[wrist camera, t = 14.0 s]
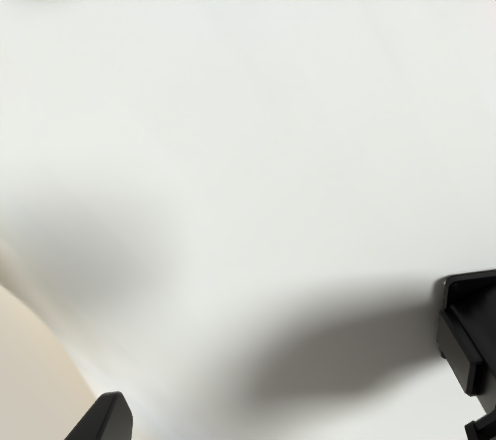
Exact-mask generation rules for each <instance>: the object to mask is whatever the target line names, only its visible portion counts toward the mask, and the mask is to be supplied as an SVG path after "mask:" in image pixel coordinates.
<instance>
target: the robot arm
mask: <svg viewBox="0 0 496 440" xmlns="http://www.w3.org/2000/svg"><path fill="white" fill-rule="evenodd" d="M456 284H457V285H456ZM454 285H456V286H454ZM437 342H438V344H439V353H440V355H441V357H442V358H444V359H447V361H448V363H449V365H450V366H451V368H452V370H453V372H454V374H455V376H456V378H457V379H458V381H459V383H460V385H461V387H462V389H463V390H464V392H465V393H466V394H467V395H468V396H470V397H471V396H477V398H478V400H479V402H480V403H481V405H482V407H483V409H484V410H485V412H486V415H485V416H483V417H481V418H480V419H478V420H477V421H471V422H470V423H468V424H467V425H465V431H466V434H467V438H468V440H496V271H491V272H483V273H476V274H468V275H460V276H454V277H451V278H449V279H448V280H447V281H446V284H445V292H444V302H443V309H441V311H440V313H439V321H438V331H437ZM132 427H133V416H132V413H131V410H130V408H129V406H128V404H127V402H126V400H125V398H124V396H123V394H122V393H121V392H119V391H116V392H108V393H104V394H102V395H101V396H100V397H99V398H98V399H97V400H96V401H95V403H94V404H93V405H92V406H91V408H90V409H89V410H88V411H87V412H86V414H85V415H84V416H83V417H82V419H81V420H80V421H79V422H78V423H77V425H76V426H75V427H74V428H73V430H72V431H71V432H70V433H69V434H68V436H67V437H66V438H65V439H64V440H131V437H132Z"/></svg>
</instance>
